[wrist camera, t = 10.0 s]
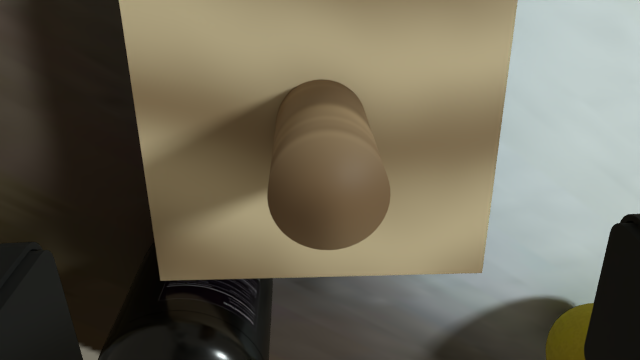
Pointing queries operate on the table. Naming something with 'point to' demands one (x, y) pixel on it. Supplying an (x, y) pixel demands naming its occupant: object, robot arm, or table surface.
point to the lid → (318, 133)
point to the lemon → (569, 334)
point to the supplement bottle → (191, 318)
